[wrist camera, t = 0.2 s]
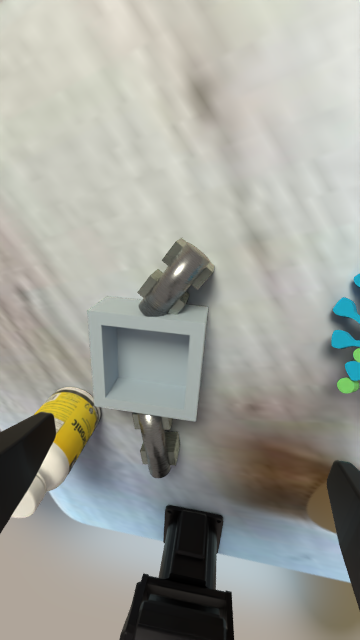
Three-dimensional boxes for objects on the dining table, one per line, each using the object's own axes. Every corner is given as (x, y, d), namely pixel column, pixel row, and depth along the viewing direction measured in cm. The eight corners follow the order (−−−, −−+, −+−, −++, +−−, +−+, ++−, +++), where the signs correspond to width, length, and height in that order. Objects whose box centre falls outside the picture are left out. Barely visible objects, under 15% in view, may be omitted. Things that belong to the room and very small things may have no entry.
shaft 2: (180, 448, 28) (174, 479, 25) (150, 447, 29) (140, 477, 25) (171, 390, 26) (164, 416, 22) (138, 390, 26) (126, 415, 23)
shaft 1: (172, 314, 23) (164, 331, 19) (142, 289, 22) (128, 302, 19) (218, 261, 21) (216, 270, 17) (184, 233, 20) (177, 237, 17)
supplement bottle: (101, 433, 29) (46, 533, 20) (53, 421, 29) (-23, 515, 20) (103, 391, 27) (41, 482, 18) (51, 379, 27) (-35, 463, 18)
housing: (199, 394, 25) (195, 421, 22) (110, 381, 26) (94, 406, 23) (208, 306, 22) (205, 323, 19) (107, 296, 23) (87, 310, 20)
